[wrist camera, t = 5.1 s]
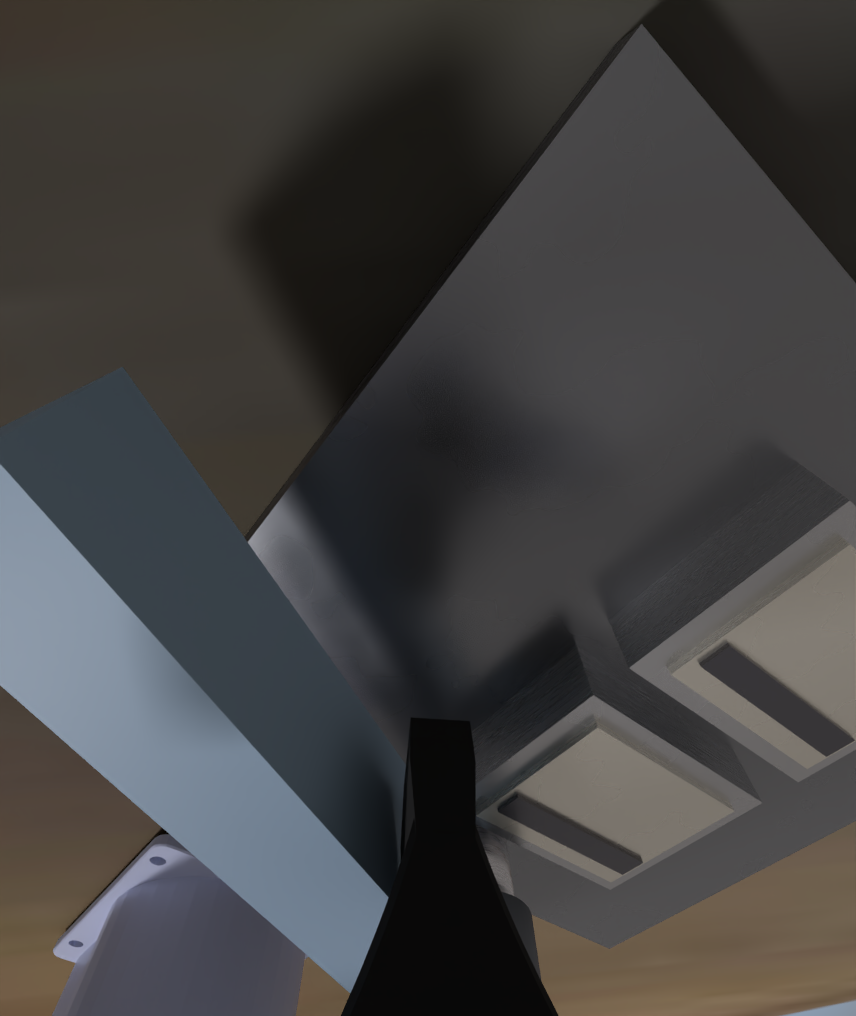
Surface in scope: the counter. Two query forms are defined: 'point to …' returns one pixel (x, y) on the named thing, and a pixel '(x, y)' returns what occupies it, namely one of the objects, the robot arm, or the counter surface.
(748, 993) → the counter surface
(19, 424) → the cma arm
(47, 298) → the counter surface
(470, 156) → the counter surface
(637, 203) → the chassis
